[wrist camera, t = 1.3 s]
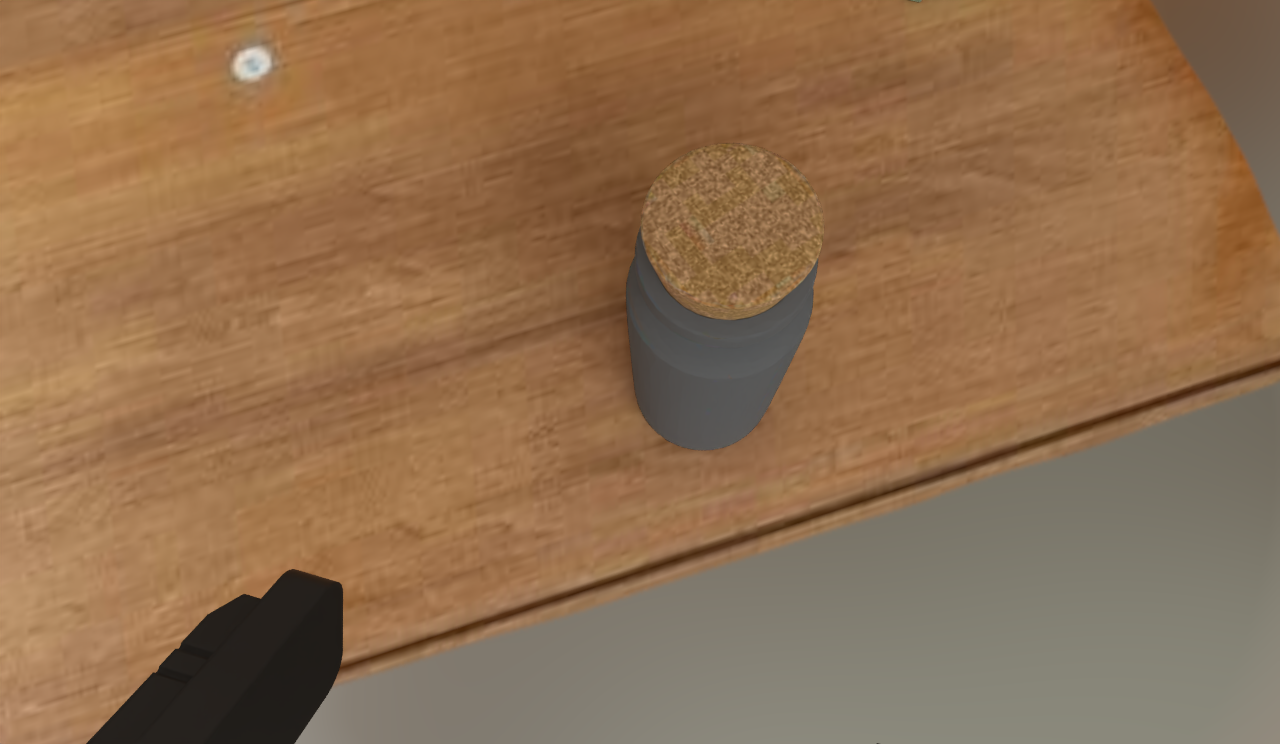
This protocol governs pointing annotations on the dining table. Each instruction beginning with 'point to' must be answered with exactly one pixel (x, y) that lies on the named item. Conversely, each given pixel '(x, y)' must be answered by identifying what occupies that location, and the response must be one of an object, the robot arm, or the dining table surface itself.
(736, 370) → the bottle
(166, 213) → the dining table surface
